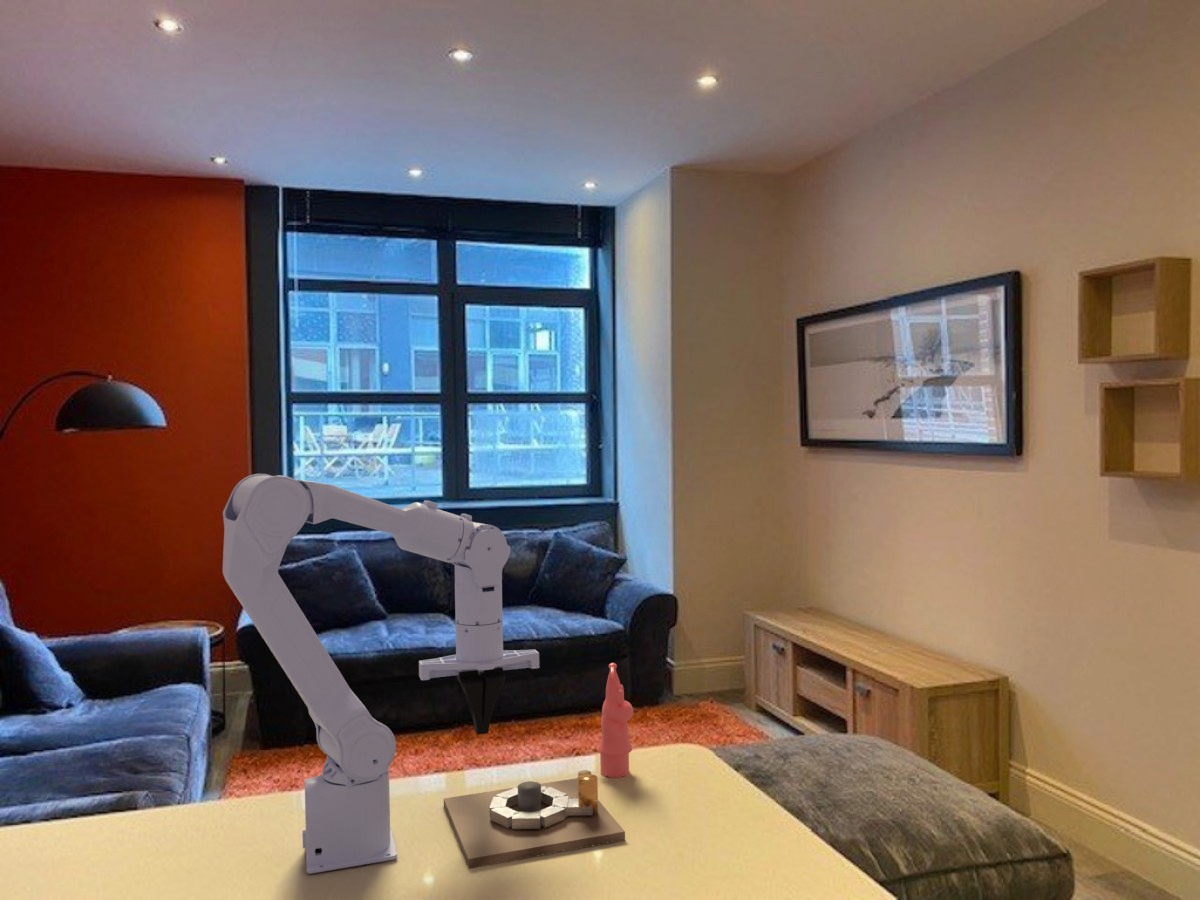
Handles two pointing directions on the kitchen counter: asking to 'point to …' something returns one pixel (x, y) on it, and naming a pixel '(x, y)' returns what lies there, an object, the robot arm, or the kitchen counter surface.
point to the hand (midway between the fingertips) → (481, 731)
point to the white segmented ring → (549, 796)
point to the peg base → (502, 844)
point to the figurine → (615, 729)
